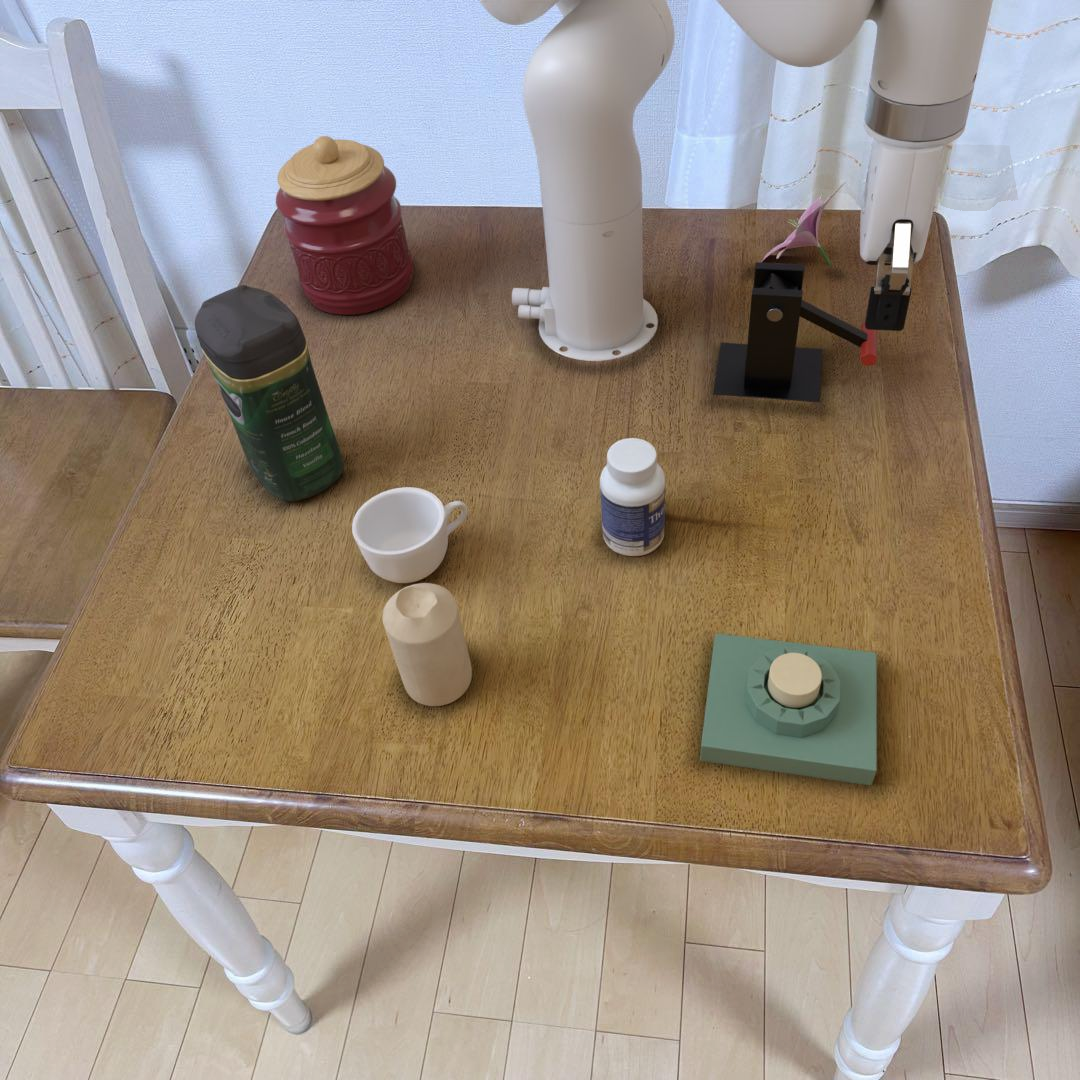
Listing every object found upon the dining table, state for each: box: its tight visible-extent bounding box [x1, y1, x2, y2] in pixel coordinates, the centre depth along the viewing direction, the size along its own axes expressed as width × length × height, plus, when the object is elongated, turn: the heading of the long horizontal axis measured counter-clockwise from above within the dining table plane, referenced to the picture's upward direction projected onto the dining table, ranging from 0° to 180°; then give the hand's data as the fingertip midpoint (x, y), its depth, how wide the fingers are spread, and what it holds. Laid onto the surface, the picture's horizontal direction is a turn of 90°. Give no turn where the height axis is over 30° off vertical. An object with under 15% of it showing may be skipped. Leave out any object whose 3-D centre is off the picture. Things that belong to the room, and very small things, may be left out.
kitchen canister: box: [275, 135, 414, 316], centre depth 111 cm, size 13×13×18 cm
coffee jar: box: [194, 284, 345, 502], centre depth 91 cm, size 10×8×19 cm
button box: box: [699, 632, 878, 786], centre depth 74 cm, size 12×10×4 cm
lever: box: [760, 273, 878, 367], centre depth 94 cm, size 12×5×2 cm, turn 78°
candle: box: [381, 582, 473, 707], centre depth 77 cm, size 6×6×10 cm
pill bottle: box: [599, 437, 666, 557], centre depth 85 cm, size 5×5×10 cm
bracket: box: [712, 261, 823, 403], centre depth 96 cm, size 10×8×12 cm
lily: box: [760, 181, 847, 267], centre depth 110 cm, size 12×12×10 cm
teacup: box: [351, 486, 469, 584], centre depth 87 cm, size 10×8×5 cm
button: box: [768, 653, 822, 708], centre depth 73 cm, size 4×4×2 cm
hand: (883, 294), depth 91 cm, fingers open, 9 cm apart
